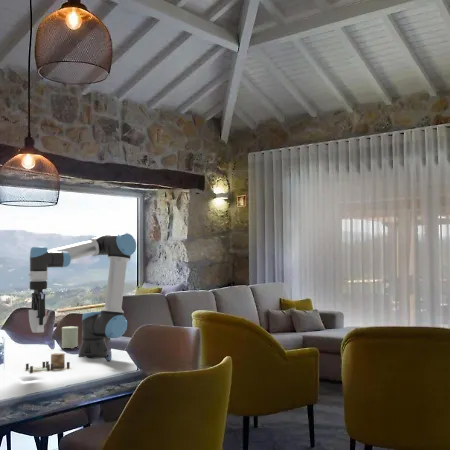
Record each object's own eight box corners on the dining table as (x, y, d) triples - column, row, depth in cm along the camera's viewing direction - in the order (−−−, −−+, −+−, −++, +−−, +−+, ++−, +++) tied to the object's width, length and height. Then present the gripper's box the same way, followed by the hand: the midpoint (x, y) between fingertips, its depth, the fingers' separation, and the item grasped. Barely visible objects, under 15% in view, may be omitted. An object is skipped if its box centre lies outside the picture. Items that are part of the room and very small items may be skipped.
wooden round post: (62, 365, 261) (62, 352, 262) (66, 367, 256) (66, 354, 256) (49, 367, 258) (49, 353, 258) (53, 369, 253) (53, 355, 253)
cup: (41, 333, 248) (41, 310, 249) (24, 332, 250) (25, 310, 250) (50, 330, 256) (50, 308, 257) (34, 330, 258) (34, 308, 258)
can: (81, 347, 323) (81, 326, 324) (67, 349, 316) (67, 327, 317) (72, 345, 329) (72, 325, 330) (58, 347, 322) (58, 326, 323)
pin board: (63, 366, 265) (63, 358, 265) (71, 371, 254) (71, 362, 254) (23, 371, 255) (23, 363, 255) (31, 376, 244) (31, 367, 244)
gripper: (24, 280, 261) (23, 329, 259) (36, 281, 244) (35, 334, 242) (40, 279, 265) (40, 328, 264) (53, 281, 248) (52, 333, 246)
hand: (37, 331), depth 253 cm, fingers closed on cup, 8 cm apart
